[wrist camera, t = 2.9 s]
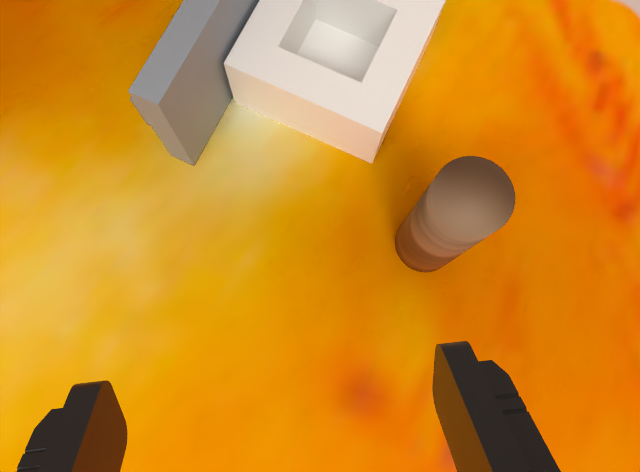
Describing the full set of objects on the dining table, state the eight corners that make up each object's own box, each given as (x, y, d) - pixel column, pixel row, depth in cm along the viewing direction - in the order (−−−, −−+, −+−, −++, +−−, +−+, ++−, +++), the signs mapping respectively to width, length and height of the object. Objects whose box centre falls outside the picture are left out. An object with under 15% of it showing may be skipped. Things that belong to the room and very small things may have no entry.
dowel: (440, 281, 39) (498, 249, 27) (385, 256, 39) (419, 213, 27) (461, 229, 40) (526, 176, 28) (408, 205, 40) (450, 143, 28)
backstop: (194, 165, 40) (158, 104, 30) (137, 139, 41) (83, 71, 31) (305, -33, 44) (304, -143, 35) (252, -55, 45) (237, -170, 35)
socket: (371, 165, 41) (382, 133, 35) (235, 104, 42) (223, 63, 36) (429, 42, 43) (448, -6, 38) (299, -13, 44) (298, -68, 38)
